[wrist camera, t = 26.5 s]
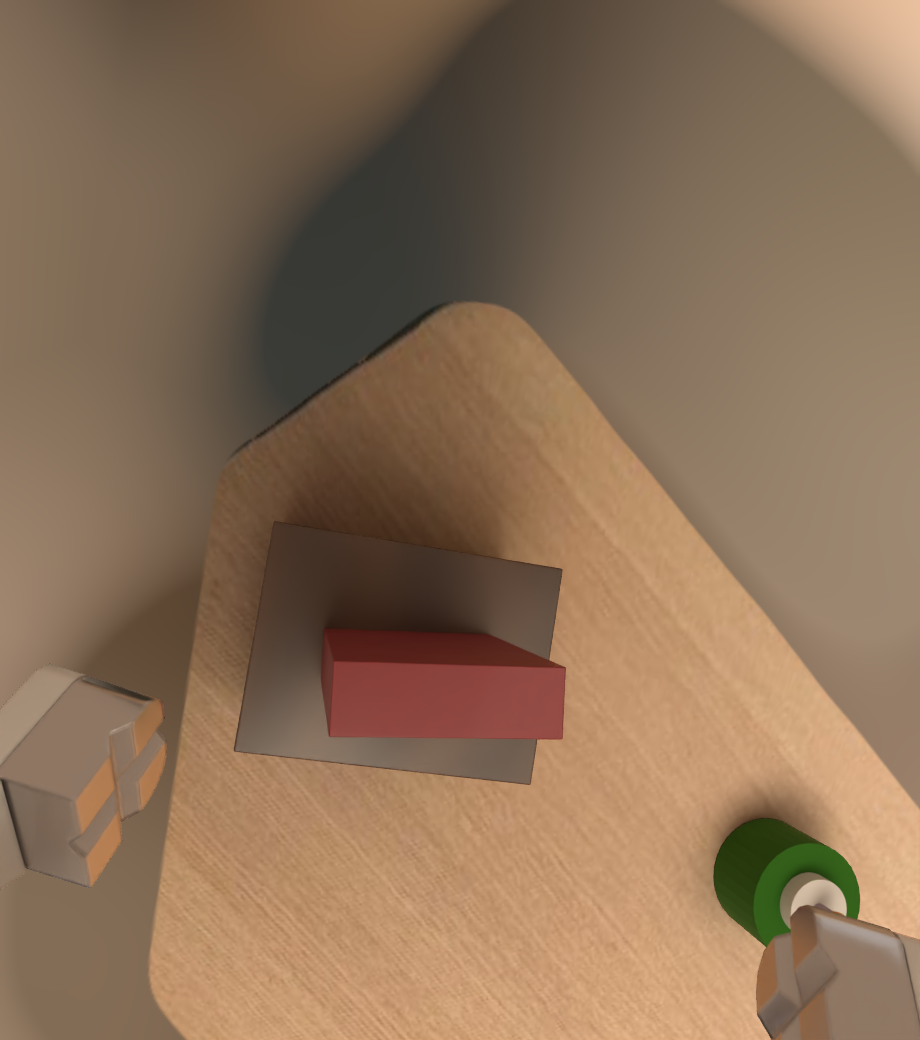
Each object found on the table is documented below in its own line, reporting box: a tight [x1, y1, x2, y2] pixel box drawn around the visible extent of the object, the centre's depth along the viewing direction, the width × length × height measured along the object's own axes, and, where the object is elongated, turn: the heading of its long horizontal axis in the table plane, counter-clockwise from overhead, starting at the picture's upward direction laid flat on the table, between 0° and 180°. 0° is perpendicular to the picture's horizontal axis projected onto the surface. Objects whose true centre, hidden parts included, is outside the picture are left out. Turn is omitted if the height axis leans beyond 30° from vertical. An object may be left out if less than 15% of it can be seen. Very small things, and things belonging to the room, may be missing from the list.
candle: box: [714, 818, 860, 947], centre depth 57 cm, size 8×8×10 cm
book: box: [321, 628, 566, 739], centre depth 37 cm, size 9×3×13 cm, turn 87°
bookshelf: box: [234, 522, 563, 785], centre depth 50 cm, size 16×12×14 cm
